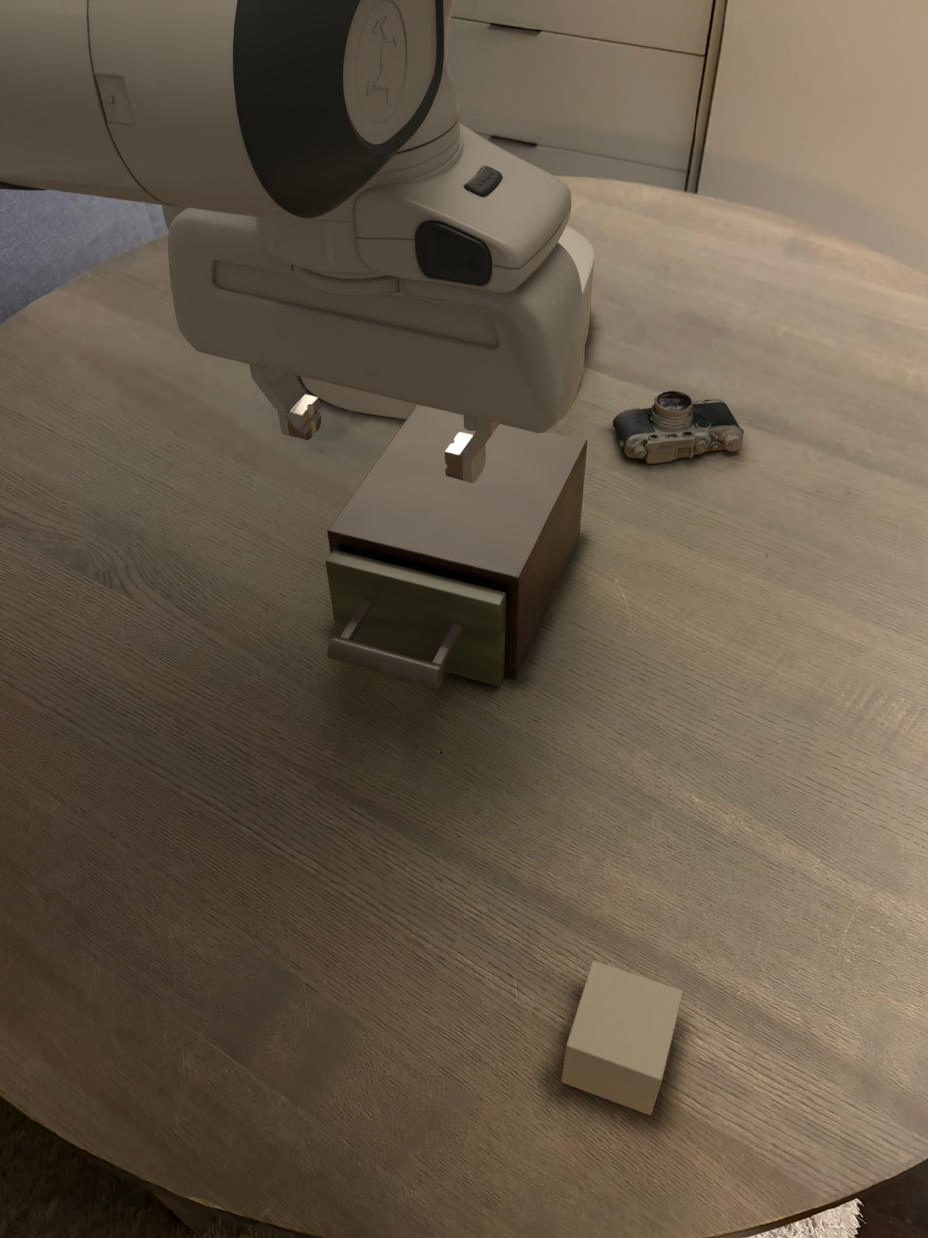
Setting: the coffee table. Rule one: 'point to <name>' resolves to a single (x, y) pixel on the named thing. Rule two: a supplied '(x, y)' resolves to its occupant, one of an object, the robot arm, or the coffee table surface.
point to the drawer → (415, 619)
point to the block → (621, 1037)
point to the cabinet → (475, 513)
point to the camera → (677, 428)
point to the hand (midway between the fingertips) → (382, 451)
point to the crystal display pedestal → (402, 409)
